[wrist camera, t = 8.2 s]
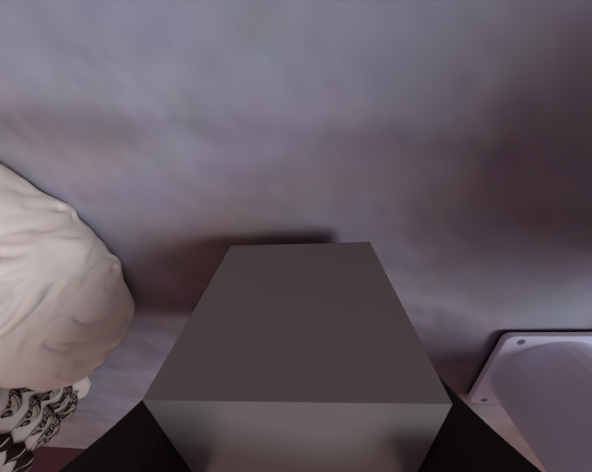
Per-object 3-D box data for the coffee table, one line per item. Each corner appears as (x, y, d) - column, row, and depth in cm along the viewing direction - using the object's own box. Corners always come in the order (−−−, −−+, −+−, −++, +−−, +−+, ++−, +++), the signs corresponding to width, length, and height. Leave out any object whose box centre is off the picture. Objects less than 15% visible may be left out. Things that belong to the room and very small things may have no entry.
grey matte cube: (369, 242, 10) (452, 403, 5) (358, 337, 13) (399, 507, 8) (230, 245, 11) (142, 400, 5) (250, 337, 14) (210, 499, 8)
